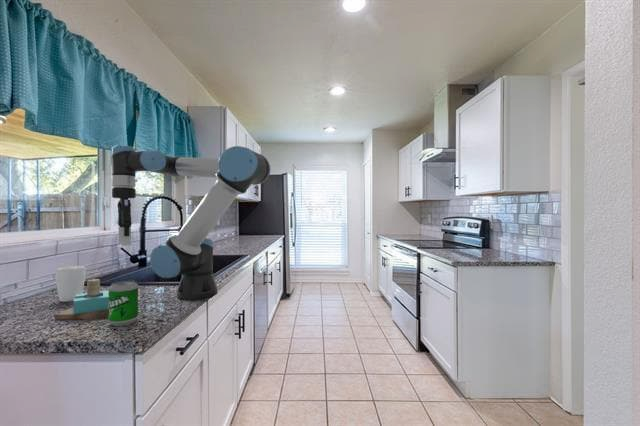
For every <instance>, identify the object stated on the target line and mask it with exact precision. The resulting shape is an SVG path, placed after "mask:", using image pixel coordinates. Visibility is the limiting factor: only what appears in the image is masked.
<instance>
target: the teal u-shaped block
mask: <svg viewBox="0 0 640 426" xmlns="http://www.w3.org/2000/svg"><path fill="white" fill-rule="evenodd" d="M108 303H109V289H108V290H100V296H98V297H90V298H87V292H85V293H84V292H83V293H82V294H76V296H75V299H74V301H73V306H72V307H73V314H78V313H85V312H92V311H98V310H105V309H108Z"/></svg>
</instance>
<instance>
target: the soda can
mask: <svg viewBox="0 0 640 426" xmlns="http://www.w3.org/2000/svg"><path fill="white" fill-rule="evenodd" d="M108 290H109V303H108V316H107V317H108V321H107V322H108V324H111V325H112V326H114V327H123V326H128V325H131V324H133V323H135V321H136V320H138V317H139V284H138V283H136V282H135V280H123V281H116V282H114V283H111V285H110V286H109V287H108Z"/></svg>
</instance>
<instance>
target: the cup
mask: <svg viewBox="0 0 640 426" xmlns="http://www.w3.org/2000/svg"><path fill="white" fill-rule="evenodd" d="M86 276H87V274H86V266H84V265H70V266H61V267H58V268H55V277H54V278H55V284H56V290H57V295H58V300H59V301H60V302H62V303H63V302H64V303H65V302H74V299H75V296H76V294H82V293H84V288H85V287H84V286H85V280H86Z"/></svg>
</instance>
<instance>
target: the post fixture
mask: <svg viewBox="0 0 640 426" xmlns="http://www.w3.org/2000/svg"><path fill="white" fill-rule="evenodd" d="M86 282H87V284H86V285H87V286H86V287H87V288H86V289H87V291H86V293H87V298H90V297H98V296H100V291H101V279H99V278H95V279H94V278H93V279H88V280H87V281H86ZM73 307H74V306H72V307H70V308H67V309H65V310H63V311H61V312H57V313H56V314H55V313H54V320H90V319H91V320H92V319H104V318H106V317H108V309H105V310H98V311H92V312H85V313H78V314H73Z"/></svg>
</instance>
